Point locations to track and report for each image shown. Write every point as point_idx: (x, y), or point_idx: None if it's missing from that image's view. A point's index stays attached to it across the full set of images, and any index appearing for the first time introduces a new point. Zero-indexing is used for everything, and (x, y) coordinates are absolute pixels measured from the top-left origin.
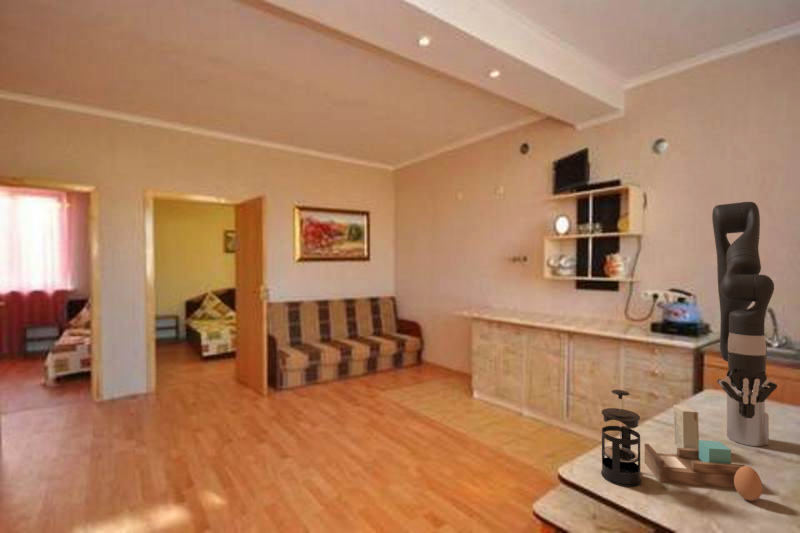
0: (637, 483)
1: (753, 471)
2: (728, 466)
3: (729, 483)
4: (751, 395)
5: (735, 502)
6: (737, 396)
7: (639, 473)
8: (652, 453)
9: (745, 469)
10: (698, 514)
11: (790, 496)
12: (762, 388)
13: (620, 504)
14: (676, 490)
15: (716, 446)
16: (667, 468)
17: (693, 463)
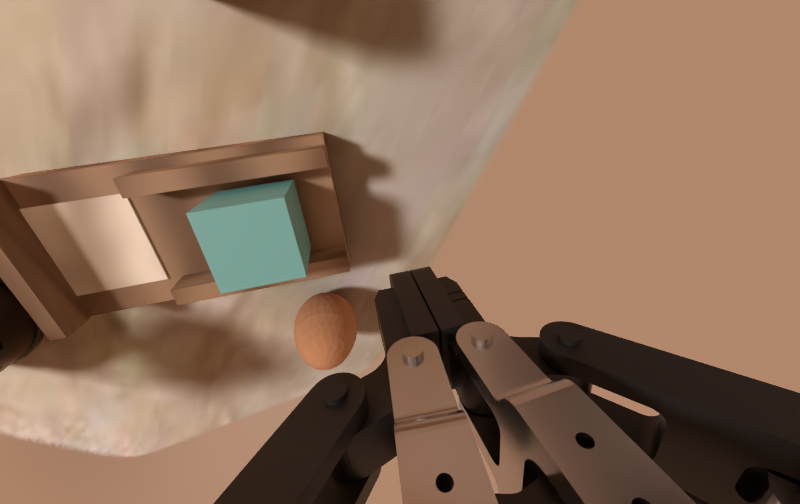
0: (31, 346)
1: (335, 366)
2: (294, 280)
3: None
4: (497, 481)
5: (292, 326)
6: (354, 496)
7: (10, 354)
8: (7, 275)
9: (315, 367)
10: (199, 401)
11: (433, 251)
12: (733, 454)
13: (14, 436)
14: (153, 325)
15: (256, 262)
16: (101, 296)
17: (177, 304)
